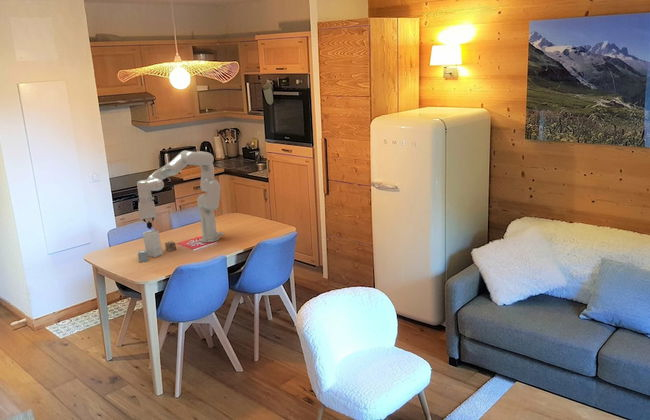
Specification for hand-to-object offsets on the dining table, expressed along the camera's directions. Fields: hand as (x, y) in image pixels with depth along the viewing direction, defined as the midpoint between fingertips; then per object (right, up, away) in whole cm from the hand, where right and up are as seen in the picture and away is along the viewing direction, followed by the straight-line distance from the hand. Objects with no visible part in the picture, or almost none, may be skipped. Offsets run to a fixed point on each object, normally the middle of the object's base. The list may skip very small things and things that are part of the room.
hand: (149, 228), depth 350 cm
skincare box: (+1, -17, +5) cm, 18 cm away
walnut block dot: (+10, -14, +13) cm, 22 cm away
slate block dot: (-2, -20, -4) cm, 20 cm away
